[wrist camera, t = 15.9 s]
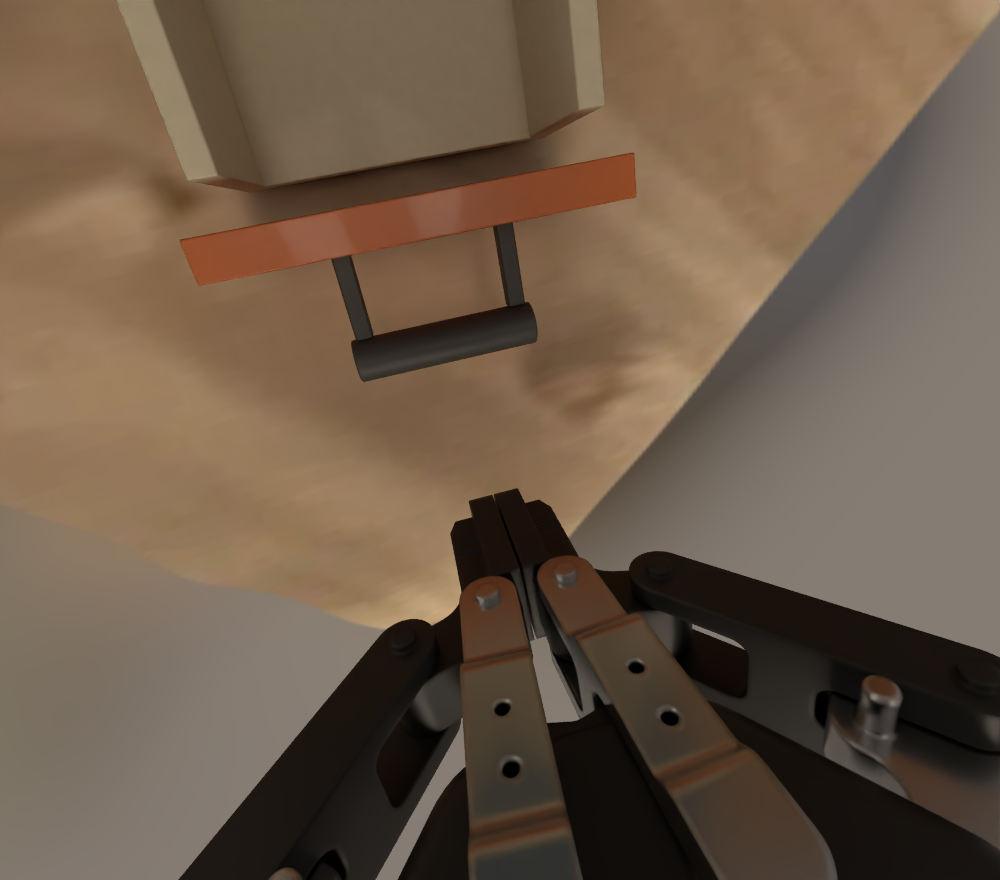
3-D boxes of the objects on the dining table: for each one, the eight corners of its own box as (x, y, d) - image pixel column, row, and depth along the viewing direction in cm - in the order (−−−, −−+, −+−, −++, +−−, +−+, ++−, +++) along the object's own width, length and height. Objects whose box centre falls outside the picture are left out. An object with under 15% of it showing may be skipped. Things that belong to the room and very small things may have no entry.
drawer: (577, 306, 23) (644, 337, 17) (294, 369, 22) (257, 428, 16) (514, -272, 16) (595, -587, 10) (73, -230, 14) (-163, -568, 8)
